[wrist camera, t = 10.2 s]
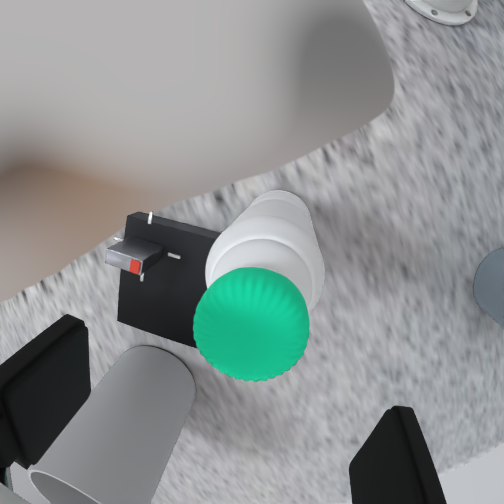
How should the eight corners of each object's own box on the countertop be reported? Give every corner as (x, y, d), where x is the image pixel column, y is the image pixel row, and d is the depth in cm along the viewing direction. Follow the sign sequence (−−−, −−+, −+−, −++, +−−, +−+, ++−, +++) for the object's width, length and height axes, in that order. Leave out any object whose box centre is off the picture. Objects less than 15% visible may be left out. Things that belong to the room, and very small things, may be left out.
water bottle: (261, 179, 35) (192, 219, 11) (320, 205, 35) (375, 300, 11) (237, 236, 37) (143, 367, 13) (294, 261, 37) (290, 427, 13)
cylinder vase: (121, 393, 46) (45, 504, 23) (119, 332, 43) (13, 450, 19) (192, 418, 46) (139, 550, 22) (202, 358, 42) (131, 512, 18)
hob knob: (129, 248, 36) (103, 263, 30) (131, 235, 35) (105, 248, 30) (161, 259, 36) (139, 276, 30) (163, 245, 35) (141, 261, 30)
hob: (131, 199, 37) (118, 203, 34) (244, 228, 37) (239, 234, 34) (119, 308, 42) (108, 318, 39) (217, 340, 41) (211, 353, 38)
